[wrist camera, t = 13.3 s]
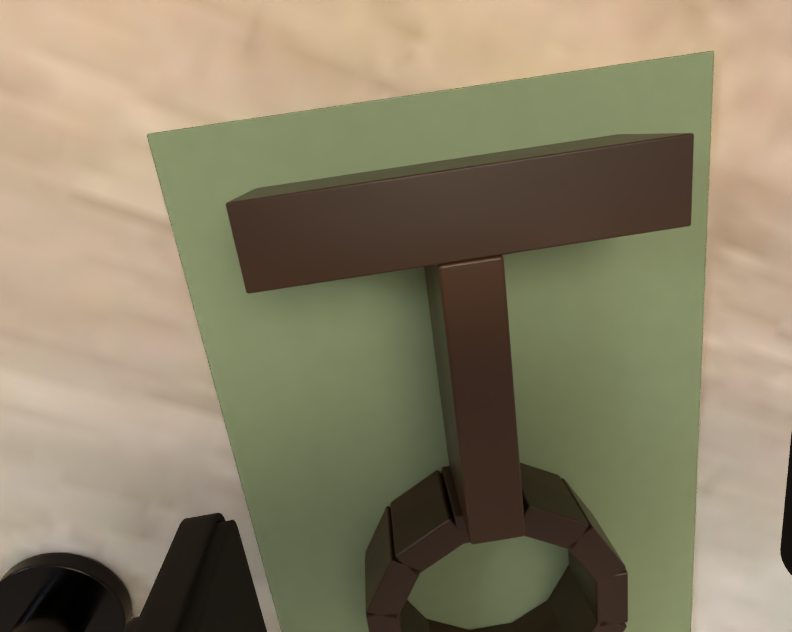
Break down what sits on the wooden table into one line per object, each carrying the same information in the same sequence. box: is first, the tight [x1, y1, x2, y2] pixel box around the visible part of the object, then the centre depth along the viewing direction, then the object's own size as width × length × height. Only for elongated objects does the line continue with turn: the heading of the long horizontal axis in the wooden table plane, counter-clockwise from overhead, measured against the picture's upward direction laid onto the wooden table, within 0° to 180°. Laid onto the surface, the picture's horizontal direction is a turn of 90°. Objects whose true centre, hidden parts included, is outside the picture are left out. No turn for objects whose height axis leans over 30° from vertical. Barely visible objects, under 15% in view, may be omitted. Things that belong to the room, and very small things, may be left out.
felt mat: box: [147, 51, 714, 632], centre depth 18 cm, size 15×21×1 cm
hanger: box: [226, 133, 694, 632], centre depth 16 cm, size 18×10×4 cm, turn 8°
